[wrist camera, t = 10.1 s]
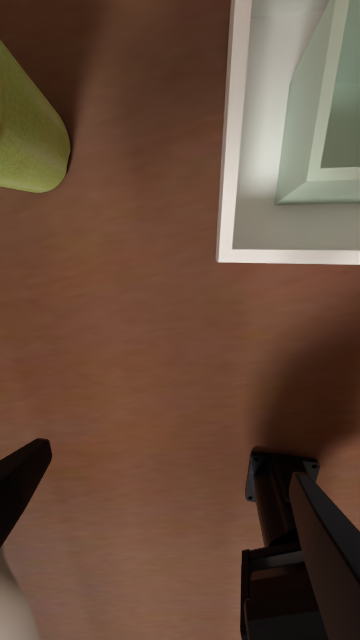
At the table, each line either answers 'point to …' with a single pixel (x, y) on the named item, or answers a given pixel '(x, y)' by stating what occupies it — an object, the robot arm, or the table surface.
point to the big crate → (271, 145)
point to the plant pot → (28, 132)
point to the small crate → (324, 115)
